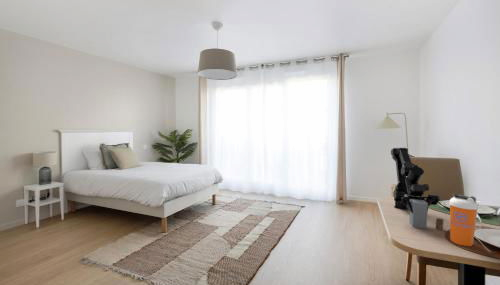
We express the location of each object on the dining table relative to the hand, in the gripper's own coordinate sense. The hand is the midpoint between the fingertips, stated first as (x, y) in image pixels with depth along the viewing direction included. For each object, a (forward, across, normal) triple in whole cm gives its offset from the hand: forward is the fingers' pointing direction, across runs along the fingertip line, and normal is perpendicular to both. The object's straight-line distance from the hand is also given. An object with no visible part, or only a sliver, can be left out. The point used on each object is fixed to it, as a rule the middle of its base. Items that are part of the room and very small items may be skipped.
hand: (419, 213), depth 114 cm
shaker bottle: (+14, +12, -4) cm, 19 cm away
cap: (+4, 0, +6) cm, 7 cm away
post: (+5, +8, +5) cm, 11 cm away
